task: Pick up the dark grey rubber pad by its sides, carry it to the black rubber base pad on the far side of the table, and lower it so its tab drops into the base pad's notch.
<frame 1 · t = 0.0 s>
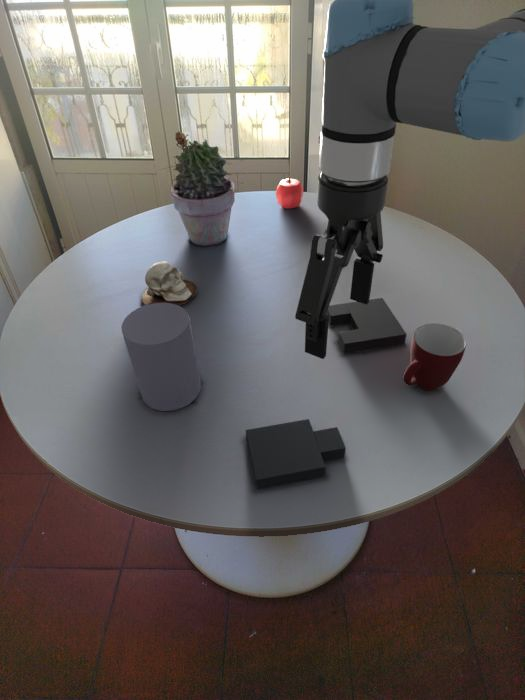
hand: (338, 325, 65), 18 cm above the table, tool pointing down, fingers open, 13 cm apart
mug: (422, 387, 80), on the table
skull: (170, 295, 103), on the table
base pad: (363, 329, 92), on the table
potted plant: (211, 237, 122), on the table
container: (171, 390, 82), on the table
apple: (289, 205, 135), on the table
pad: (284, 457, 71), on the table
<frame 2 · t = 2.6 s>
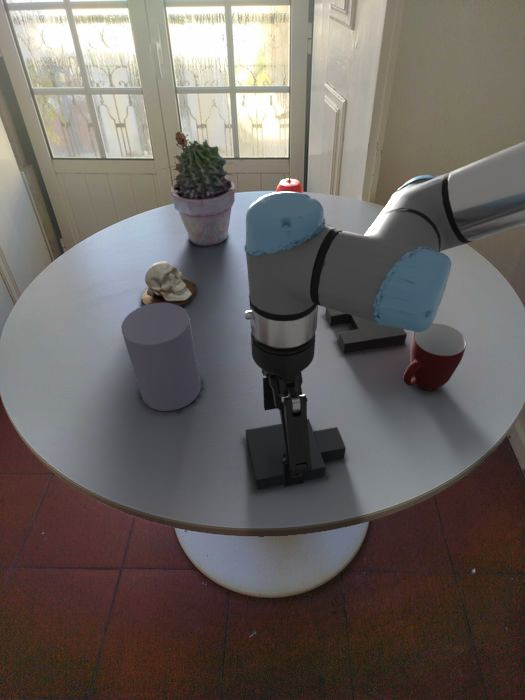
hand: (282, 442, 68), 4 cm above the table, tool pointing down, fingers open, 13 cm apart
nothing on the table moved.
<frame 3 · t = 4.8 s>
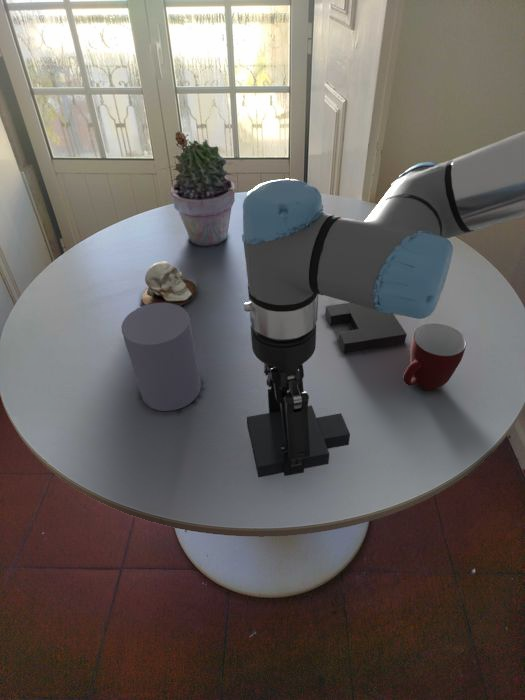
hand: (285, 443, 68), 4 cm above the table, tool pointing down, fingers closed on pad, 9 cm apart
pad: (286, 445, 68), point 3 cm above the table, touching gripper
everything else where it was.
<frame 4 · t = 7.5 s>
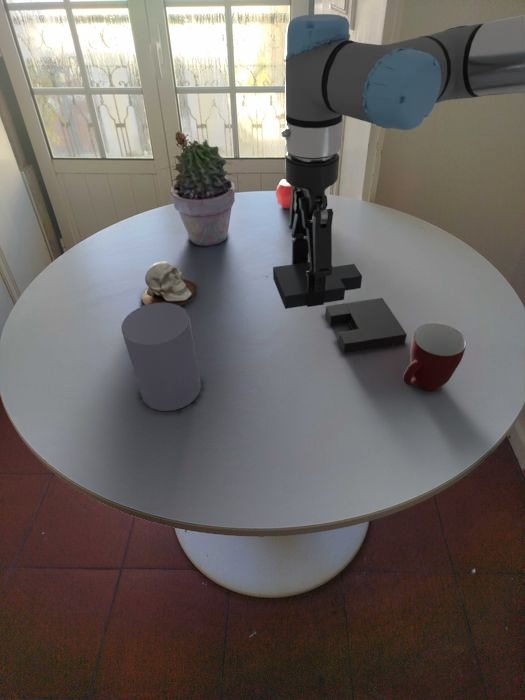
hand: (307, 287, 80), 14 cm above the table, tool pointing down, fingers closed on pad, 9 cm apart
pad: (307, 289, 80), point 13 cm above the table, touching gripper
everything else where it was.
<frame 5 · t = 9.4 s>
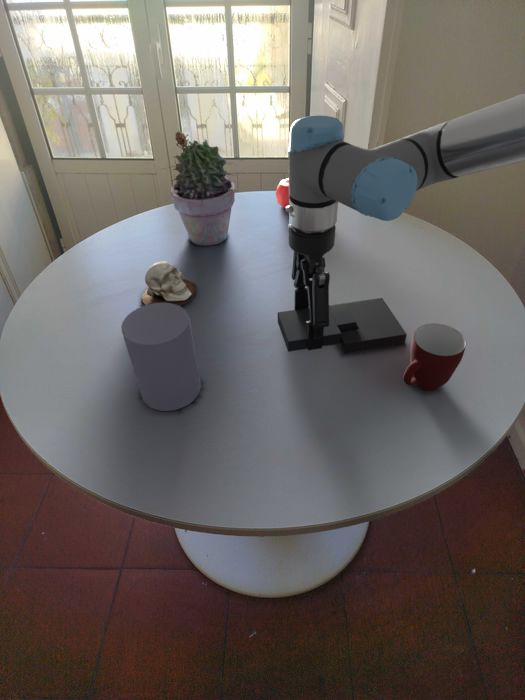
hand: (307, 331, 90), 2 cm above the table, tool pointing down, fingers closed on pad, 9 cm apart
pad: (308, 332, 90), point 1 cm above the table, touching gripper
everything else where it was.
when the fingers open (0 cm above the table, at t = 10.3 s): pad stays where it is, on the table.
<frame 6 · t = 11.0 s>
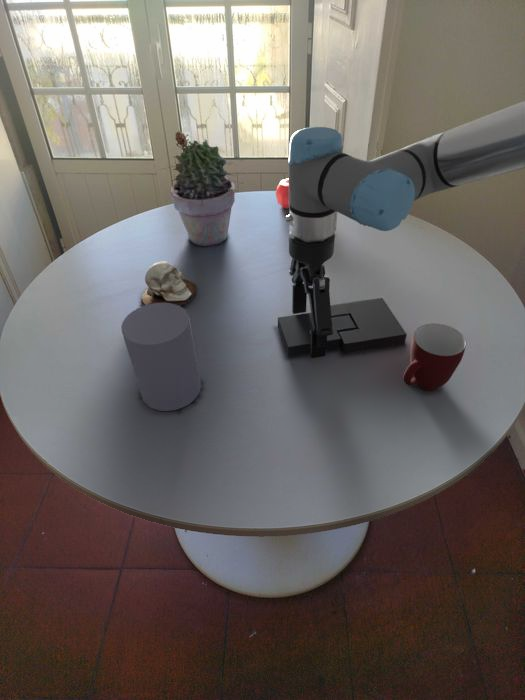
hand: (308, 333, 90), 1 cm above the table, tool pointing down, fingers open, 13 cm apart
pad: (307, 337, 91), on the table
everything else where it was.
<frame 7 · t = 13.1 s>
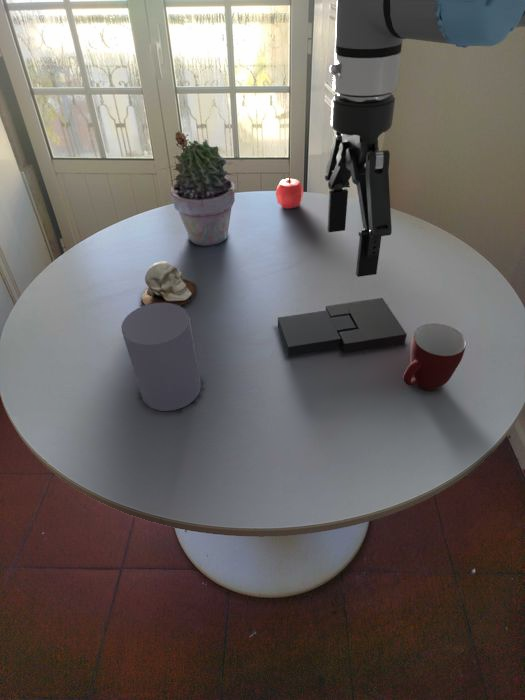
hand: (350, 251, 70), 23 cm above the table, tool pointing down, fingers open, 13 cm apart
nothing on the table moved.
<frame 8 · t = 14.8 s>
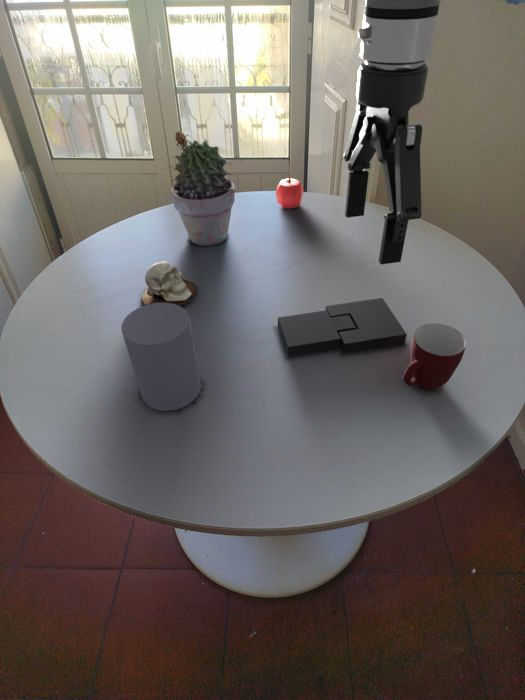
hand: (370, 237, 66), 27 cm above the table, tool pointing down, fingers open, 13 cm apart
nothing on the table moved.
at the end: pad 0.2 cm from the target spot on the table beside the base pad, on the table; pad tilted 0°; the gripper is holding nothing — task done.
